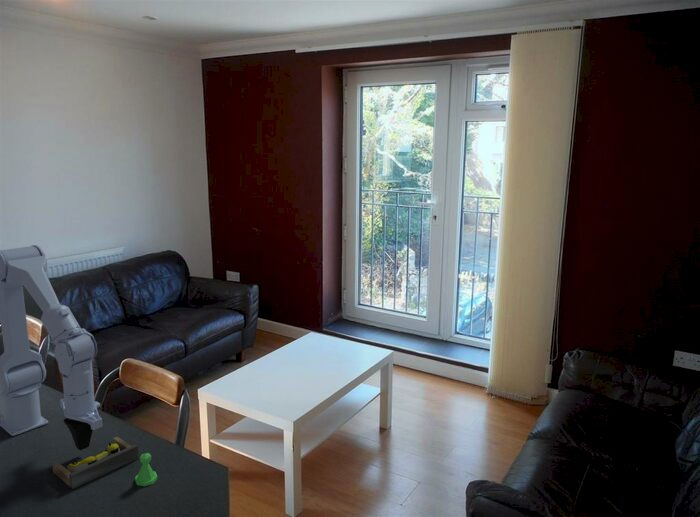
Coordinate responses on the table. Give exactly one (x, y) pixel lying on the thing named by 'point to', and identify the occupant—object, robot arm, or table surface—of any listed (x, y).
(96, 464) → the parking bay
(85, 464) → the yellow plastic handheld tool
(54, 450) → the table surface
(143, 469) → the game piece
